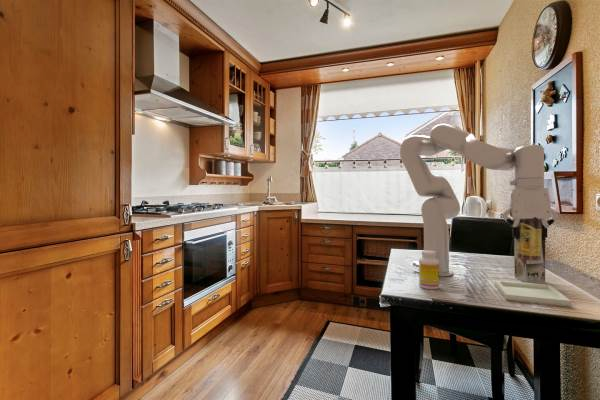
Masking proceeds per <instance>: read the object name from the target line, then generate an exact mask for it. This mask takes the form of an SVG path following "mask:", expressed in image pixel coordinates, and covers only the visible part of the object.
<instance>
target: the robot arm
mask: <svg viewBox="0 0 600 400" xmlns="http://www.w3.org/2000/svg"><path fill="white" fill-rule="evenodd" d="M399 149H400V150H399V152H400V153H399V155H400V159H401V162H402V164H403V166H404V168H405V170H406V171H407V175H408V176H409V178H410V182H411V183H412V185H413V188H414V190H415V192H416V193H417V194H418V196H420V197H422V198H423V197H424V198H426V197H427V198H428V199H426V200H424V202H423V203H422V204H421V205H422V206H421V208H420V209H421V216H422V222H423V245H424V246H423V251H424V250H430V251H435V252H436V256H435V258H436V259H438V261H439V277H451V276H453V275H454V270H453V269H451V268H450V231H449V226H448V222H447V220H450V219H454V218H456V217H458V215H459V213H460V211H461V206H460V202H459V199H458V198H457V196H456V194H455V191H454V190H453V188H452V186H451V184H450V182H449V181H448V179H446V177H444V176H442V175H435V174H433V173H432V172H431V170H430V169H429V167H428V164H427V163H426V161H425V160H424V159H423V158H422V156H424V157H425V156H426V157H427V156H434V155H437V154H440V153H442V152H444V151H447V150H449V151H451V152H453V153H456V154H458V155H460V156H461V157H462V158H464V159H466V160H467V161H469V162H471V163H473V164H475V165H478V166H480V167H481V168H482V167H483V168H485V169H487V170H491V171H492V170H493V171H512V170H514V179H513V180H510V181H509V185H510V186H514V188H512V191H511V195H510V203H509V207H508V208H507V209H506V210H504V211H503V212H502V213H501V214H500V217H501V219H503V220H505V222H507V224H509V225H510V226H511V234H512V235H511V236H512V237H513V239H514V238H515V239H517V240H518V239H519V227H518V223H519V221H520V220H521V219H532V218H534V217H536V218H537V219H542V227H541V228H542V240H545V241H546V240H547V239H548V228H550V227H551V226H552V225H553V224H554V223H555V222H556V221H558V220H559V219H560V218H561V215H560V214H558V213H557V212H556V211H555V210H553V209H552V208H551V207H552V205H551V199H550V198H551V197H550V192H549V189H548V187H545V149H544V147H543V146H542V145H540V144H530V145H521V146H518V147H516V148H505V147H500V146H499V147H497V146H495V145H491V144H489V143H486V142H484V141H481V140H479V139H477V138H476V135H475V134H473V133H472V132H468V131H466V130H463V129H462V128H460V127H459V126H458V125H452V124H449V123H448V124H447V123H439V124H435V126H433V127H432V129H430V132H429V136H426V135H419V134H415V135H413V134H412V135H409V136H407V137H406V138H404V140H403V141H402V142H401V146H400V148H399ZM510 217H511V218H513V219H511V218H510ZM546 238H547V239H546ZM412 266H414V267H415V268H419V261H415V260H414V261H412Z"/></svg>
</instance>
